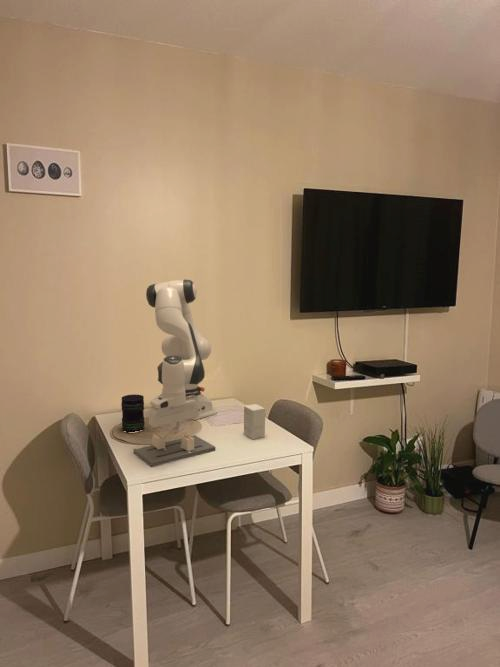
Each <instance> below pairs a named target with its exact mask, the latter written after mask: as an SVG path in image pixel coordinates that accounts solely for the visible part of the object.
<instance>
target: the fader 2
mask: <svg viewBox="0 0 500 667" xmlns="http://www.w3.org/2000/svg"><path fill="white" fill-rule="evenodd" d="M191 436H192V435H191ZM191 436H190V435H189V434H186V435H182V436H181V437H180V439H181V447H182V448H183V449H185V450H186V451H191V450H194V438H192V437H191Z"/></svg>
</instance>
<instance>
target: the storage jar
mask: <svg viewBox="0 0 500 667" xmlns="http://www.w3.org/2000/svg"><path fill="white" fill-rule="evenodd" d="M144 399H145V398H144V395H141V394H127V395H124V396H122V397H121V411H122V412H121V413H122V414H121V415H122V418H121V427H122V428H121V430H123V431H126V432H135V431H140V430H143V429H144V430H145V417H144V416H145V415H144V410H145V401H144ZM144 430H143V431H144ZM123 431H122V432H123Z"/></svg>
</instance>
